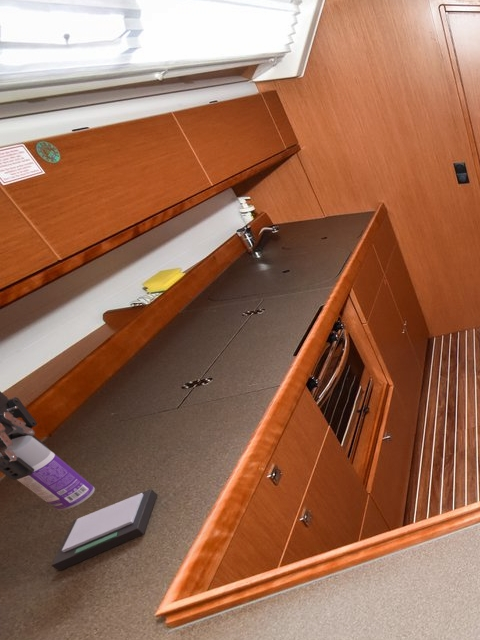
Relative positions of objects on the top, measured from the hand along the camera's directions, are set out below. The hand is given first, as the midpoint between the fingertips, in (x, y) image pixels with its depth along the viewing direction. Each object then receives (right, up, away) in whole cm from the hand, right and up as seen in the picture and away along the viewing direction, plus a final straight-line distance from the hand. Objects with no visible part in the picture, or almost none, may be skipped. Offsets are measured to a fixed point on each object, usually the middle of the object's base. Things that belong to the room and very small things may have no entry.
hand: (32, 464), depth 70 cm
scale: (+1, -18, +10) cm, 21 cm away
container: (0, -9, +5) cm, 11 cm away
